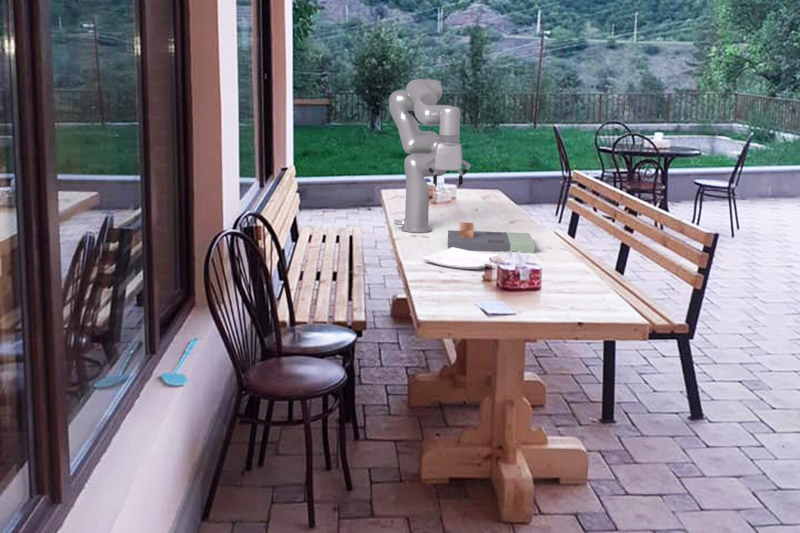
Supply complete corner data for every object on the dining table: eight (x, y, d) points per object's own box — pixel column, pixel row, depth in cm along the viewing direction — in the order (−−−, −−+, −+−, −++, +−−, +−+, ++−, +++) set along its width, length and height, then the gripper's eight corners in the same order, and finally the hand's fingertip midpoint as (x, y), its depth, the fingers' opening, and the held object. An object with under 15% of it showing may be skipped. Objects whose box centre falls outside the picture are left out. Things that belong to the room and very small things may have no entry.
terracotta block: (459, 237, 345) (460, 224, 344) (459, 235, 350) (460, 222, 349) (473, 237, 345) (473, 225, 344) (472, 235, 350) (473, 222, 349)
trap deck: (447, 249, 337) (448, 241, 336) (447, 237, 360) (448, 230, 359) (534, 252, 335) (534, 244, 335) (528, 240, 359) (529, 233, 358)
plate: (416, 264, 312) (417, 257, 312) (450, 253, 333) (451, 246, 332) (480, 275, 300) (480, 267, 299) (511, 262, 320) (512, 254, 320)
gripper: (425, 140, 337) (424, 186, 340) (472, 141, 336) (470, 188, 340) (426, 138, 344) (424, 184, 348) (472, 139, 343) (470, 185, 347)
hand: (447, 185), depth 344 cm, fingers open, 8 cm apart
